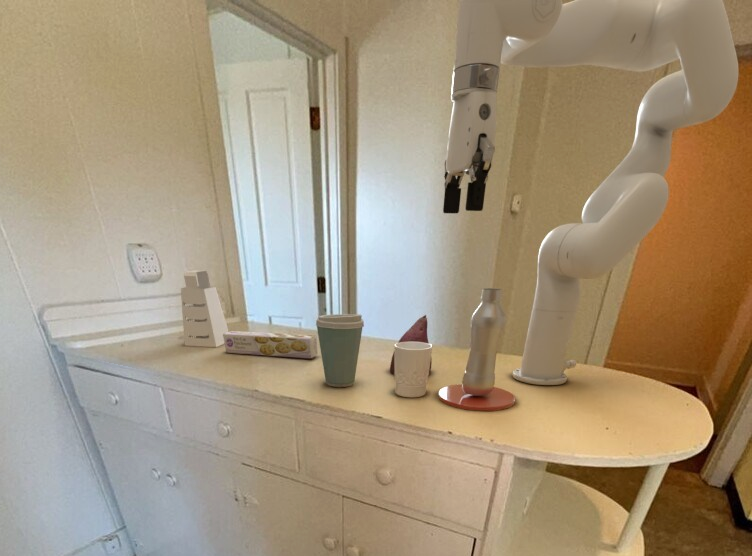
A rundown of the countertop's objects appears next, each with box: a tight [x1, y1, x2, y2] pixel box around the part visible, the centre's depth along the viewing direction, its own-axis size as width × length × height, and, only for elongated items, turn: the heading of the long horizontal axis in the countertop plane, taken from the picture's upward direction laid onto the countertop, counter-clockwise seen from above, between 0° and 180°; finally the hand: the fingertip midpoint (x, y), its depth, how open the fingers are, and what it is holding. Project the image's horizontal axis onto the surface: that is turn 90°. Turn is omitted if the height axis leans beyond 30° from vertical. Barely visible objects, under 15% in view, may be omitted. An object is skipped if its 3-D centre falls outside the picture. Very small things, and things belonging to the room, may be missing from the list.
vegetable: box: [389, 314, 433, 375], centre depth 106 cm, size 10×10×15 cm
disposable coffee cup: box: [315, 313, 365, 388], centre depth 95 cm, size 11×11×15 cm
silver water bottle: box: [461, 287, 507, 396], centre depth 85 cm, size 6×7×20 cm
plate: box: [437, 383, 516, 412], centre depth 91 cm, size 16×16×1 cm
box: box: [223, 330, 319, 360], centre depth 121 cm, size 27×5×6 cm, turn 73°
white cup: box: [393, 342, 433, 398], centre depth 91 cm, size 8×8×10 cm
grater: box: [180, 270, 230, 348], centre depth 130 cm, size 10×10×20 cm
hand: (461, 212), depth 80 cm, fingers open, 9 cm apart
